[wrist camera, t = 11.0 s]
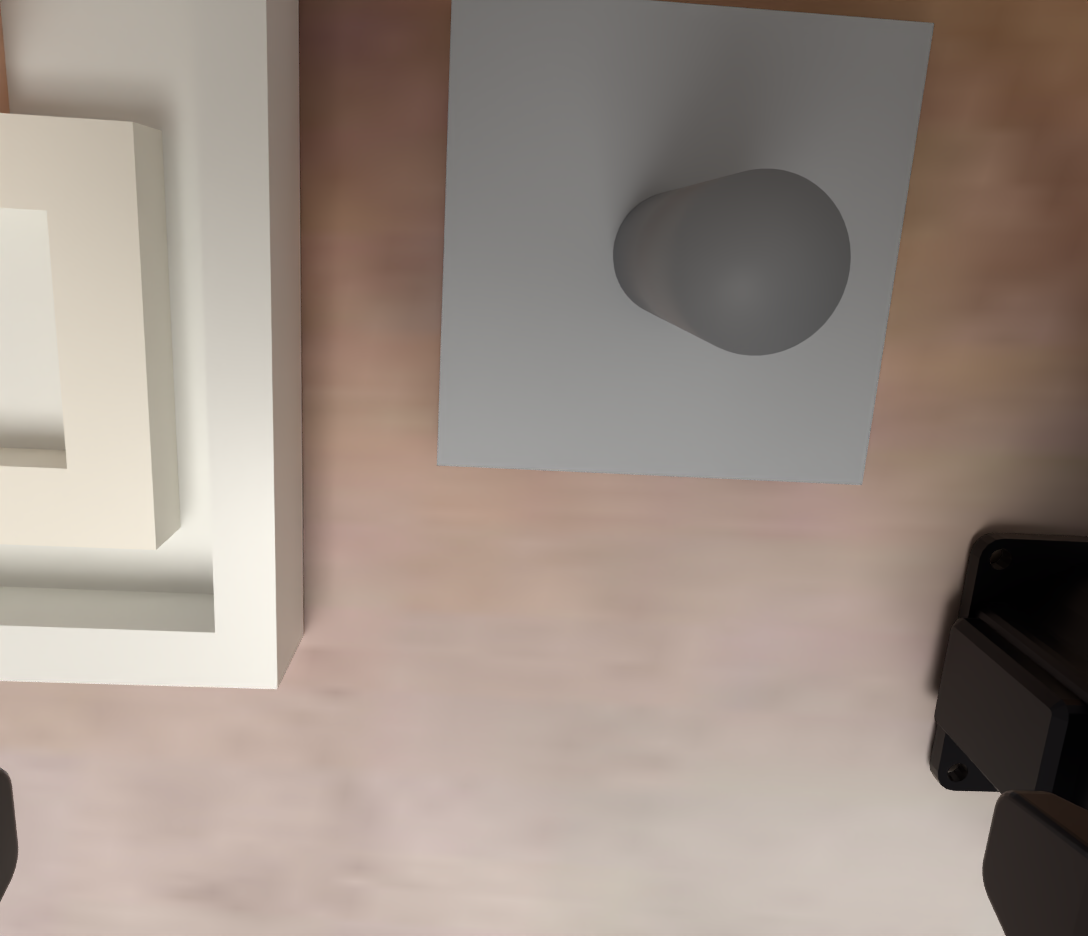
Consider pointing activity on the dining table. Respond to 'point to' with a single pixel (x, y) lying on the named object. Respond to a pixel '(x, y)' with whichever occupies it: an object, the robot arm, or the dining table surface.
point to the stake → (671, 235)
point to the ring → (97, 334)
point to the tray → (197, 345)
